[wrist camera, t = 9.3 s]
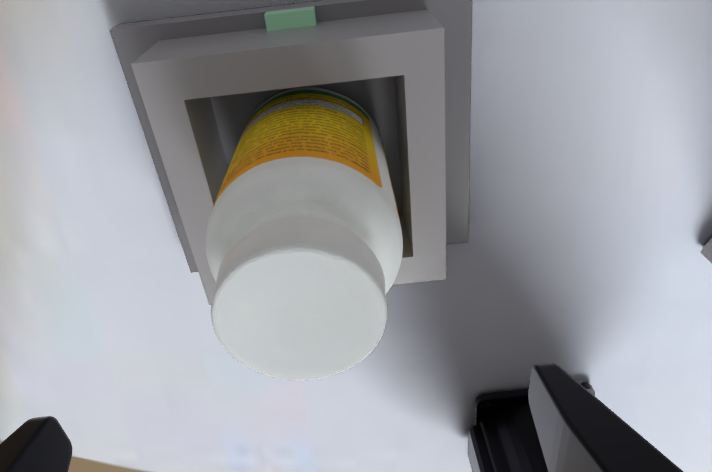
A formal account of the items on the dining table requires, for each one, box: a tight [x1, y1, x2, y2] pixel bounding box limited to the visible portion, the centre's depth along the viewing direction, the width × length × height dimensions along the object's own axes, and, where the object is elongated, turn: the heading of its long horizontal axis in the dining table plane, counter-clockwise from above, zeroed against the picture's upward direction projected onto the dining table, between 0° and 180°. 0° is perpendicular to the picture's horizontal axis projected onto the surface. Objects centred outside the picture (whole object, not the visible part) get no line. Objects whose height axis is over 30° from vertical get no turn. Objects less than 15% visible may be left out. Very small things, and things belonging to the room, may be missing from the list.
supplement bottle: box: [206, 87, 403, 380], centre depth 16 cm, size 5×5×10 cm
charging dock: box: [110, 0, 472, 305], centre depth 19 cm, size 12×10×4 cm
